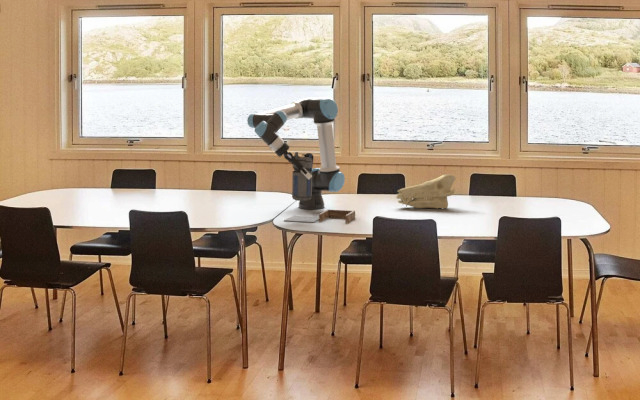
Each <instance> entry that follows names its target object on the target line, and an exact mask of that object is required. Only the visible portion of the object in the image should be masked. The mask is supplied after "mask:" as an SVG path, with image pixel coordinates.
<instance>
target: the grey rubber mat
mask: <svg viewBox="0 0 640 400" xmlns="http://www.w3.org/2000/svg"><path fill="white" fill-rule="evenodd" d="M283 222H288V223H289V222H290V223H307V224H315V223H316V222H319V216H315V215H314V216H313V215H312V216H311V215H295V214H294V215H292V216H289V217H288V218H286V219H284V220H283Z"/></svg>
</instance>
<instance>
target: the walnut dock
mask: <svg viewBox="0 0 640 400" xmlns="http://www.w3.org/2000/svg"><path fill="white" fill-rule="evenodd" d="M318 217H319V220H318V222H319V223H321V222H323V221H325V220H327V219H328V218H337V219H345V221H344V223H345V224H348V223H350V222H351V221H353V220H355V219H356V211H355V210H347V209H346V210H342V209H326V210H324V211H322V212H320V213H319V214H318Z"/></svg>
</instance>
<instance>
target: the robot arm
mask: <svg viewBox="0 0 640 400" xmlns="http://www.w3.org/2000/svg"><path fill="white" fill-rule="evenodd" d="M338 109H339V108H338V104H337V103H336V101H335V100H334V99H333V98H329V97H306V98H302V99H300V100H296V101H293V102H291V103H290V104H288V105H285V106H282V107H278V108H273V109H271V110H268V111H264V112H260V113H250V114H249V115H248V116H247V119H246V121H247V125H248V127H250V128H251V129H254V132H255V134H256V136H258V137H259V138H260V139H261V140H262V141H263V142H264V143H265V144H266V145H267V146H268V147H269V148H268V149H269V150H272V151H273V152H274V153H275V154H276V155H277V157H278V158H280V157H282V156H283V157H284V159H285V160H286V161H288V162H289V163H291V165H292V166H293V164H294V165H295V166H296V167H297V168H298V169H299V170H298V171H299V172H300V171H301V173H302V174H303V175H304V176H305V177H306V178H307V179H308V180H309V179H310V178H311V177H312V198H311V199H310V200H308V201H298V208H300V209H304V210H305V209H307V210H308V209H309V210H319V209H324V208H325V201H324V198H323V195H322V192H330V193H334V192H335V193H337V192H340V191H341V190H342V188H343V187H344V185H345V179H346V178H345V175H344V173H343V172H342V171H340V166H338V165H337V160H336V159H337V158H336V157H337V156H336V150H335V139H334V130H333V129H334V128H333V123H334V122H335V119H336V117H337V116H338V111H339V110H338ZM292 119H296V120H298V119H313V124H315V125H316V128H317V138H318V146H319V155H320V156H319V157H320V167H316V168H313V167H312V175H311V174H310V173H309V172H308V171H307V170H306V169H305V168H304V167H303V166H302V165H301V164H300V163H299V162H298V161H297V160H296V159H295V157H294V155H293V153H292V152H288V150H289V149H290V145H288V144H287V142H286V141H284V139H283V138H282V137H280V135H279V134H278V132H279V130H280V129H281V128H282V127H283V126H284V125H285V124H286V122H287V121H288V120H292Z"/></svg>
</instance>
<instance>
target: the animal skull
mask: <svg viewBox="0 0 640 400" xmlns="http://www.w3.org/2000/svg"><path fill="white" fill-rule="evenodd" d="M455 181H456V176H455V175H452V174H449V173H447V174H446V173H445V174H442V175H441V176H439V177H436V178H434V179H431V180H427V181H424V182H422V183H421V184H416V185H411V186H406V187H403V188H400V189H398V190H397V192H398V193H397V194H396V195H395V196H396V197H395V199H398V200H397V203H398V204H402V205H405V207H406V208H407V206H409V207H412V208H415V209H427V208H431V209H438V208H446V209H447V208H448V207H449V203H448V202H449V201H448V197H451V196H453V195H454V193H455V188H454V189H452V186H453V184H454V182H455ZM399 199H400V200H399Z"/></svg>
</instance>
